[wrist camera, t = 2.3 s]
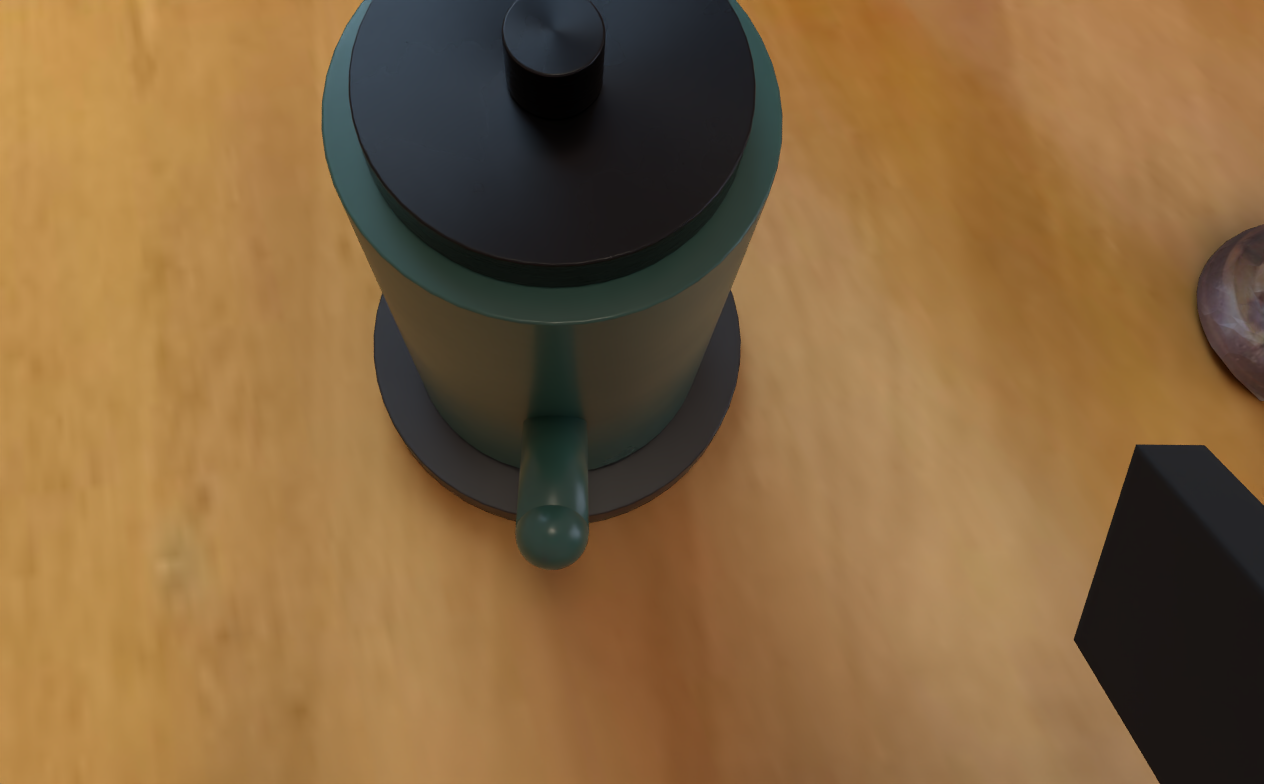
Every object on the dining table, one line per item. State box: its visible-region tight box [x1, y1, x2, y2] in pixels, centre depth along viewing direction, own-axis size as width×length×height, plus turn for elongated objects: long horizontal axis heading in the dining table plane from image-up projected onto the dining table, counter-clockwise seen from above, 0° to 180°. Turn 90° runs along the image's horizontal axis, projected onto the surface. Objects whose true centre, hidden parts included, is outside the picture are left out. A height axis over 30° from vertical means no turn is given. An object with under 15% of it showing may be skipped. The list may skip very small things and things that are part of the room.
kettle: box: [322, 0, 782, 570], centre depth 29 cm, size 19×10×18 cm, turn 0°
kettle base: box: [374, 290, 741, 523], centre depth 39 cm, size 13×13×2 cm
